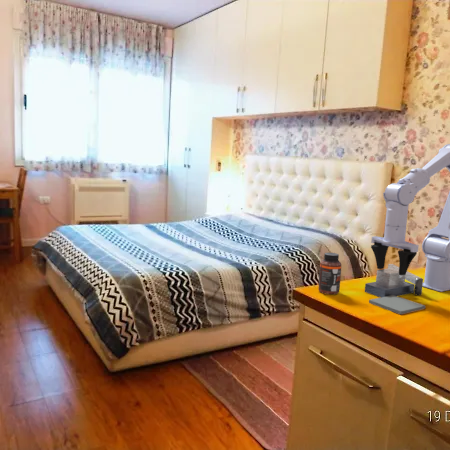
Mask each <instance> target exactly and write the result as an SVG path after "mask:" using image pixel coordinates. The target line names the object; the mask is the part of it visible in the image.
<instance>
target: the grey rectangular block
mask: <svg viewBox="0 0 450 450" xmlns="http://www.w3.org/2000/svg"><path fill="white" fill-rule="evenodd" d="M375 277H376V278H375V282H376V284H379V285H382V286H385V287H388V288H389V287H394V286H400V285H404V283H405V282H406V281H405V280H406V279H405V275H399V269H395V268H388V267H387V268H383V269H377V270H376V276H375Z"/></svg>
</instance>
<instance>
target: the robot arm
mask: <svg viewBox="0 0 450 450" xmlns="http://www.w3.org/2000/svg"><path fill="white" fill-rule="evenodd" d="M445 168H446V170H447V171H448V172H449V173H450V143H446V144H445V145H443V147H440V148H439V150H438V153H437V154H436V155H435V156H433V157H432V159H430V161H428V162H427V163H426V164H425V165H424V166H422V168H421V167H419V168H418V167H416V168H411V169H410V170H409V173H407V174H406V175H405V176H404V177H403V178H402V177H401V178H399V180H398V181H397V182H395V183H394V182H393V183H390V184H389V185H388V186H386V187H385V190H384V191H383V193H382V196H383V199H384V201H385V206H384V207H385V208H386V214H385V223H384V234H383V237H381V236H377V235H376V236H375V235H374V236H371V242H370V243H371V246H370V248H371V250H372V251H373V254H374V259H375V263H376V268H377V270H382V269H385V263H386V262H385V261H386V256H387V252H388V249H389V248H390V247H391V248H395V249H400V250H398V251H397V254H398V259H399V261H398V262H399V265H398V267H399V275H406V272H407V271H408V269H409V266H410V264H411V263H412V261H413V260H414V258H415V257H416V255H417V254H418V252H419V244H414V243H411V242H409V241H406V233H407V225H408V224H407V223H408V216H409V215H408V214H409V213H408V212H409V207H410V204H411V203H413V202H414V199H415V197H416V195H417V193H419V192H420V191H421V190H423V189H424V188H425V187H427V185H429V184H430V181H431V178H432V177H433V176H434V175H436V174H438V173H439V172H440V171H442V170H443V169H445ZM421 250H422V252H423V253H424V257H425V258H426V264H425V271H424V279H423V285H422V288H423V287H424V288H426V289H430V290H433V291H437V292H440V293H441V292H445V291H450V191H448V195H447V198H446V201H445V203H444V207H443V209H442V212H441V215H440V218H439V221H438V223H437V226H435V227H433V228H431V229H429V231H428V233H427V235H426V236H425V238H424V239H423V241H422V244H421Z"/></svg>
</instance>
